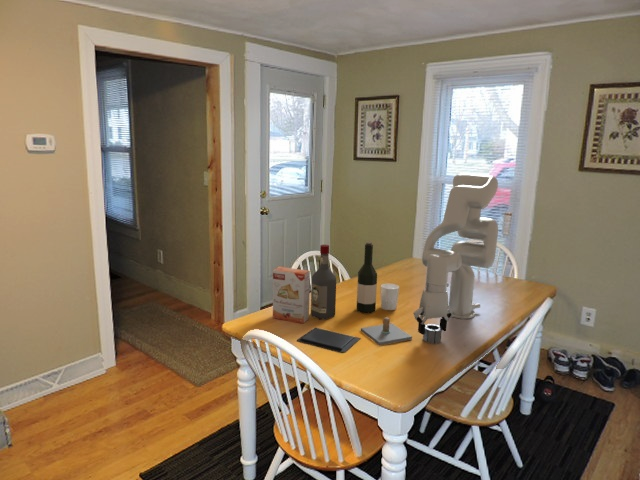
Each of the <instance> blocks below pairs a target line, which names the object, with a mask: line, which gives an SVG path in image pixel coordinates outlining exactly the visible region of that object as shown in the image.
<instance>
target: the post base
mask: <svg viewBox="0 0 640 480" xmlns="http://www.w3.org/2000/svg"><path fill="white" fill-rule="evenodd" d="M390 320H391V318H389V317H387V316H386V317H383V319H382V321H383V322H382V324H378V325H377V324H376V325H371V326H365V327H364V326H363V327H360V332H361V333H363V334H364V335H365V336H367V337H368V338H369V339H371V340H372V341H373V342H374V343H376V344H377V345H378V346H383V345H389V344H393V343H394V344H396V343H400V342H405V341H407V342H408V341H412V340H413V339H412V338H413V336H412V335H410V334H409V333H407V332H406V331H404V330H402V329H401V328H400V327H398V326H397V325H395V324H394V323H392V322H390Z"/></svg>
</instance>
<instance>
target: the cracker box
mask: <svg viewBox="0 0 640 480" xmlns="http://www.w3.org/2000/svg"><path fill="white" fill-rule="evenodd" d="M310 280H311V271H310V270H306V269H298V268H293V267H286V266H285V267H284V266H277V267H276V268H274V269H273V270H272V318H273V319H278V320H282V321H288V322H294V323H299V324H305V323H306V322H307V321H308V320H309V318H310V293H311V292H310V291H311V285H310V284H311V283H310V282H311V281H310Z"/></svg>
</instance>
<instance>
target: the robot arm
mask: <svg viewBox="0 0 640 480" xmlns="http://www.w3.org/2000/svg"><path fill="white" fill-rule="evenodd" d="M452 185H453V187H452V188H451V189H450V191H449V195H448V198H447V202H446V207H445V212H444V214H443V219H442V222H441V223H439V224H438V225H437V226H436V227H434V228H433V229H432V230H431V232H430V233H429V234H428V236H427V238H426V240H425V242H424V246H423V251H422V256H421V261H422V264H423V265H424V266H425V267H426V279H425V286H424V287H425V289H424V290H423V291H422V294H421V296H420V301H419V307H418V308H417V309H416V310H415V311H414V312H413V316H414V319H415V320H416V322H417V323H418V324H417V325H418V326H417V330H418V331H417V332H418V333H419V334H421V335H422V336H423V335H424V334H425V325H426V322H427V321H428V320H431V319H439V318H440V320H439V326H440V327H442V332H447V325H448V322H449V321H450V318H451V317H452V318H454V319H455V318H456V319H460V320H461V319H462V320H463V319H464V320H466V319H469V320H470V319H472V318H474V317H475V316H476V312H475V309H479V308H481V304H480V303H475V304H474V302H473V300H474V299H473V298H474V289H475V287H474V286H475V277H476V276H475V271H474V270H473V267H478V268H483V269H489V268H491V267H493V265H494V263H495V260H496V252H497V245H498V244H497V243H498V236H499V226H498V222H497V220H495V219H494V218H492V217H491V218H490V217H482V216H481V213H482V210H484V209H486V208H487V207H488V206H489V204H490V203H491V201H492V200H493V198H494V196H495V195H496V193H497V192H498V187H499V181H498V179H497V177H495V176H494V175H489V174H476V173H459V174H456V175H455V176H454V177H453V179H452ZM455 232H457V235H458V237H460V238H463V239H467V240H472V241H473V240H474V241H480V242H483V243H476V242H470V241H456V242H454V243H453V245H452V246H451V249H450V250H449V249H448V250H447V249H442V248H435V245H436V243H437V242H438V240H439V239H441V238H442V237H444V236H446V235H449V234H451V233H455ZM449 273H451V276H450V284H449V283H448V280H449V279H448V278H449V277H448V276H449ZM449 286H450V287H449ZM448 287H449V288H450V289H449V294H448Z"/></svg>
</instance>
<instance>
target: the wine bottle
mask: <svg viewBox="0 0 640 480" xmlns="http://www.w3.org/2000/svg"><path fill="white" fill-rule="evenodd" d="M373 250H374V245H373V243H372V242H370V241H369V242H365V244H364V256H363V257H364V260H363V264H362V266H361V267H360V269H359V270H358V272H357V287H356V288H357V289H356V290H357V291H356V312H357V313H361V314H373V313H375V312H376V304H377V287H378V273H377V270H376V269H375V267H374V265H373Z"/></svg>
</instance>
